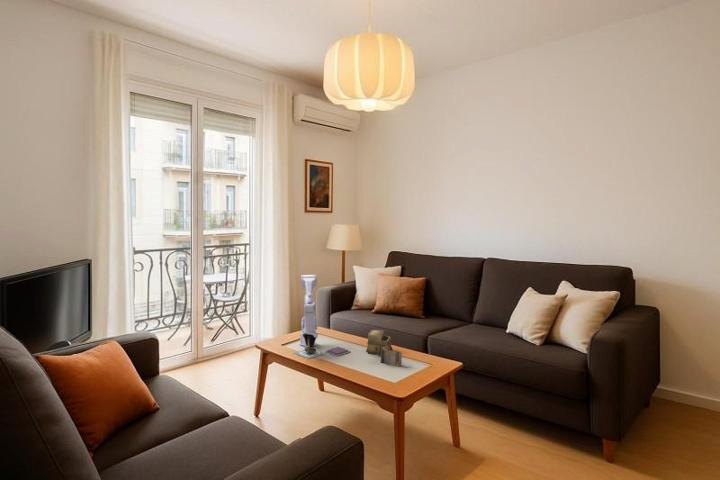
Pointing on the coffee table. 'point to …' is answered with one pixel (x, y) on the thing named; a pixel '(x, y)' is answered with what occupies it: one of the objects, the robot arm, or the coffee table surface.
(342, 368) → the coffee table surface
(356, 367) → the coffee table surface
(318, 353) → the marked board
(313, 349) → the wooden stamp
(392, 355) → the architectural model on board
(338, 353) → the ink pad
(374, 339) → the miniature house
